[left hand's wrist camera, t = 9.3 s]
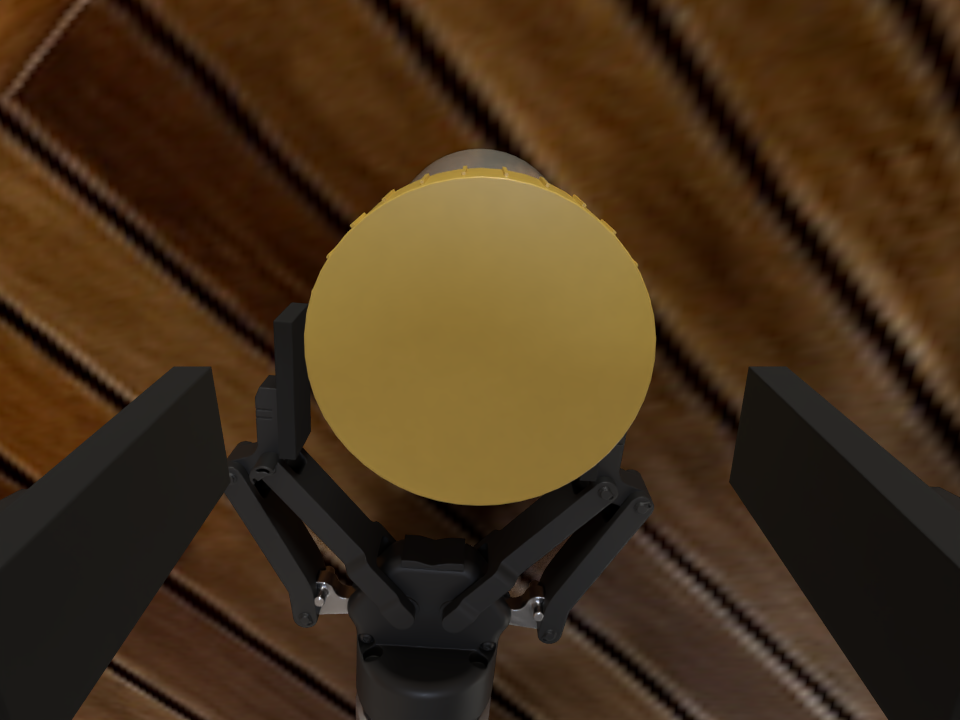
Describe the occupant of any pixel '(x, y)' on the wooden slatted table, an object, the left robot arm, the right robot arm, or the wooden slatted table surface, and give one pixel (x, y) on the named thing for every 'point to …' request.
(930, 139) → the wooden slatted table surface
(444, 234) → the lid
